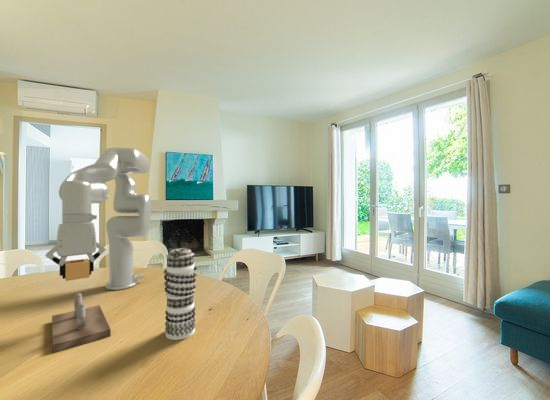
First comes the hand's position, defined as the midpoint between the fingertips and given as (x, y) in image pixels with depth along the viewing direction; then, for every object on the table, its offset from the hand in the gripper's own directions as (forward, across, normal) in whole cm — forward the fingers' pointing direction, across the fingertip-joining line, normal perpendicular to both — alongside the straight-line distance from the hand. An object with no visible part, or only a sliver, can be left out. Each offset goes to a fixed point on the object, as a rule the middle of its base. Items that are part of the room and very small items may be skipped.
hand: (77, 275), depth 86 cm
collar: (+1, 0, 0) cm, 1 cm away
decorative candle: (+16, -23, +26) cm, 39 cm away
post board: (+16, 0, +4) cm, 16 cm away
